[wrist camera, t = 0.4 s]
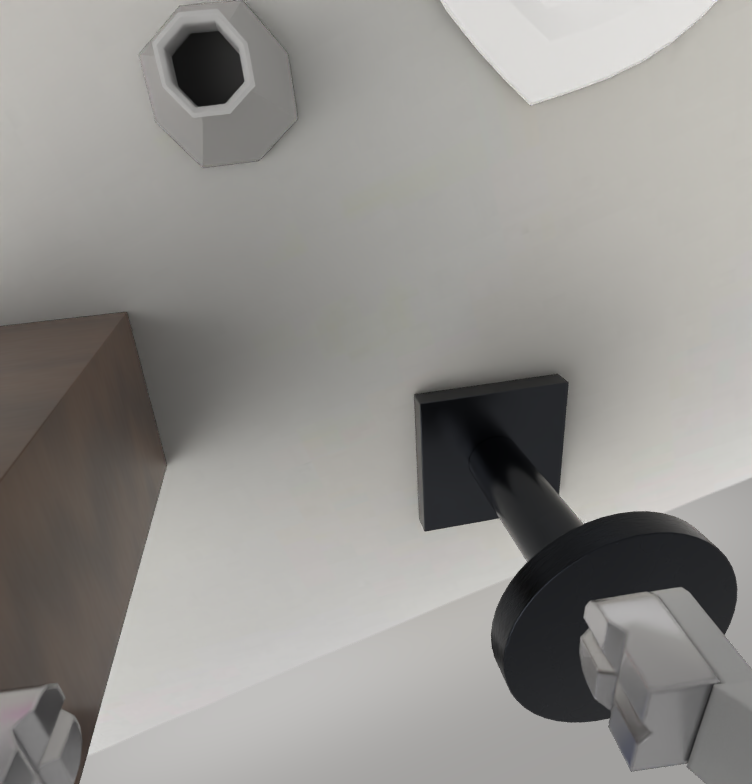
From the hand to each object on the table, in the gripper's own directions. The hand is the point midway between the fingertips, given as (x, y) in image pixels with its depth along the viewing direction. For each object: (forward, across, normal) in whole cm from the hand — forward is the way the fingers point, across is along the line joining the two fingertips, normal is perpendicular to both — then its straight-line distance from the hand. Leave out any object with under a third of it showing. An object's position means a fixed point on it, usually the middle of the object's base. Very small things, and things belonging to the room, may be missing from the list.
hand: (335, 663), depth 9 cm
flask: (+26, -3, +9) cm, 28 cm away
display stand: (+26, +11, -14) cm, 32 cm away
